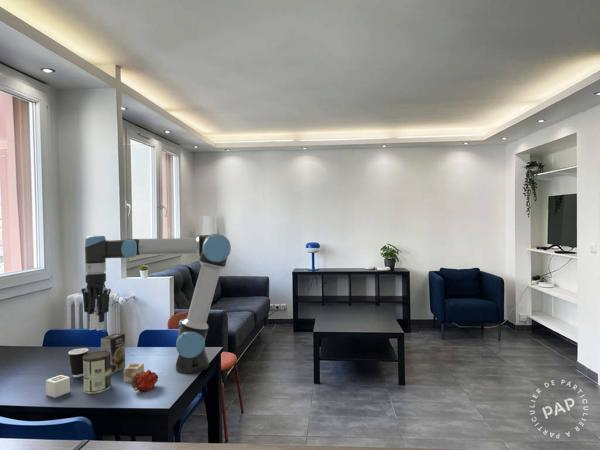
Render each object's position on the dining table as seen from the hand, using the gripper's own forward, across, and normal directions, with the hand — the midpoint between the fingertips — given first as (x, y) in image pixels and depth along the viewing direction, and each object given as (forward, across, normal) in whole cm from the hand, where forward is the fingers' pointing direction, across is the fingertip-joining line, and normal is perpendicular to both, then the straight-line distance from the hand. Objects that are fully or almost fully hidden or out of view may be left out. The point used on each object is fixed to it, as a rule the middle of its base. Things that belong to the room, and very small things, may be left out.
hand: (96, 329), depth 158 cm
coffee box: (+25, -9, +18) cm, 32 cm away
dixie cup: (+25, -20, +9) cm, 33 cm away
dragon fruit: (+25, +20, +5) cm, 32 cm away
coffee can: (+25, 0, 0) cm, 25 cm away
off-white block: (+25, -12, -8) cm, 29 cm away
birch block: (+25, +8, +12) cm, 29 cm away
